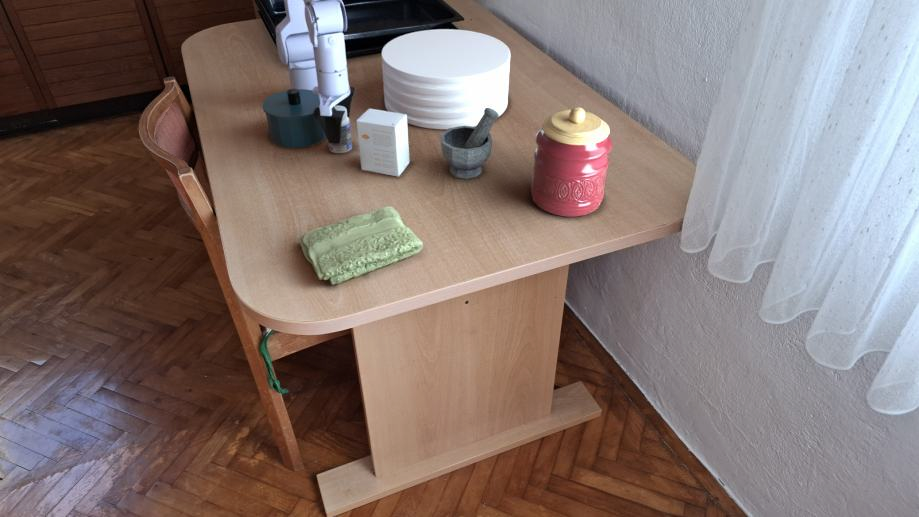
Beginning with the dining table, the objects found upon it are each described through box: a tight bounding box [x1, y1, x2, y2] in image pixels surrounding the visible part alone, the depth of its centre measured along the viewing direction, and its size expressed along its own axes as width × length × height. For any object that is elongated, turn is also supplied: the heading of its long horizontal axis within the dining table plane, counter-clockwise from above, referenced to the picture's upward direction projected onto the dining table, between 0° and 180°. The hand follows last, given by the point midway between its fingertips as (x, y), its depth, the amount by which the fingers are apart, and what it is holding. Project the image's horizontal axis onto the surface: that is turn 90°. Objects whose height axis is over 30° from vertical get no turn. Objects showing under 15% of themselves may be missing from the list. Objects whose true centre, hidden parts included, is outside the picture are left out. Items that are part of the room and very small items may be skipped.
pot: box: [265, 113, 327, 149], centre depth 135 cm, size 12×12×6 cm
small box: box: [355, 107, 411, 178], centre depth 123 cm, size 8×6×10 cm
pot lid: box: [261, 88, 320, 119], centre depth 132 cm, size 13×13×4 cm
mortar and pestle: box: [440, 108, 500, 179], centre depth 122 cm, size 11×9×12 cm
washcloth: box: [297, 205, 424, 286], centre depth 105 cm, size 13×18×3 cm
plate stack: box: [381, 28, 512, 130], centre depth 146 cm, size 28×28×12 cm
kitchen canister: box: [530, 106, 613, 218], centre depth 113 cm, size 13×13×18 cm
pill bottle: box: [327, 106, 353, 154], centre depth 129 cm, size 5×5×8 cm
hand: (338, 133), depth 130 cm, fingers open, 7 cm apart
